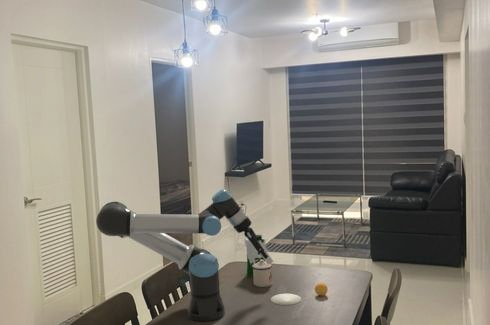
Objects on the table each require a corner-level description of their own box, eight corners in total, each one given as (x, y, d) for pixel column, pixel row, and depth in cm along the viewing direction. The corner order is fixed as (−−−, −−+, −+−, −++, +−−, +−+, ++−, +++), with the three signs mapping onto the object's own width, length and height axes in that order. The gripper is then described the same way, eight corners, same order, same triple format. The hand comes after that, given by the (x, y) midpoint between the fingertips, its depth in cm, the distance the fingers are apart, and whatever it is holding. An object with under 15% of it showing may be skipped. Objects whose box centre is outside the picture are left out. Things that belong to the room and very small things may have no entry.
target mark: (274, 306, 209) (274, 306, 209) (267, 295, 222) (267, 295, 222) (304, 303, 212) (304, 302, 212) (296, 292, 224) (296, 292, 224)
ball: (317, 298, 216) (317, 285, 216) (313, 293, 222) (313, 281, 221) (329, 296, 217) (329, 284, 217) (325, 292, 223) (324, 280, 222)
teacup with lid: (273, 286, 234) (272, 262, 233) (254, 287, 233) (253, 263, 232) (270, 278, 246) (269, 255, 245) (252, 279, 245) (250, 256, 244)
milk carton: (255, 278, 247) (254, 238, 245) (244, 274, 254) (242, 235, 252) (269, 274, 252) (267, 234, 251) (257, 270, 259) (255, 232, 258)
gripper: (249, 223, 205) (280, 262, 209) (243, 208, 230) (270, 244, 234) (235, 234, 205) (265, 273, 209) (230, 218, 230) (258, 253, 234)
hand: (268, 257), depth 221 cm, fingers open, 13 cm apart
